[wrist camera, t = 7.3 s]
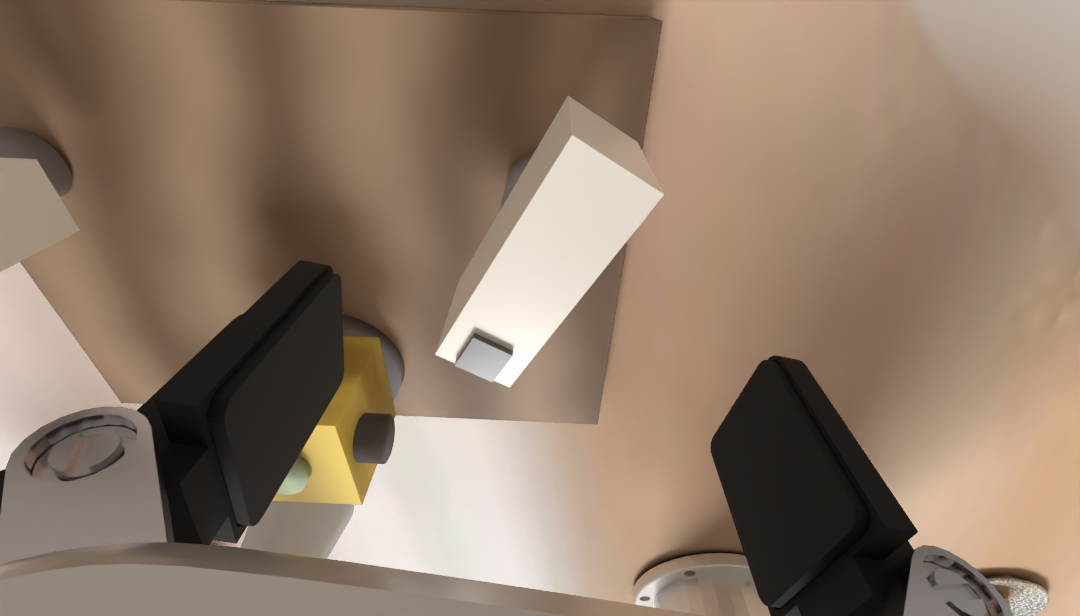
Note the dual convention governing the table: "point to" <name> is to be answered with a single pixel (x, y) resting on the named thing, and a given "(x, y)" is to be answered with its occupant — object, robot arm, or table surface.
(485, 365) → the knob right
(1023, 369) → the table surface
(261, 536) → the salt shaker
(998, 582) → the pastry
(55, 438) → the robot arm
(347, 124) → the level base
